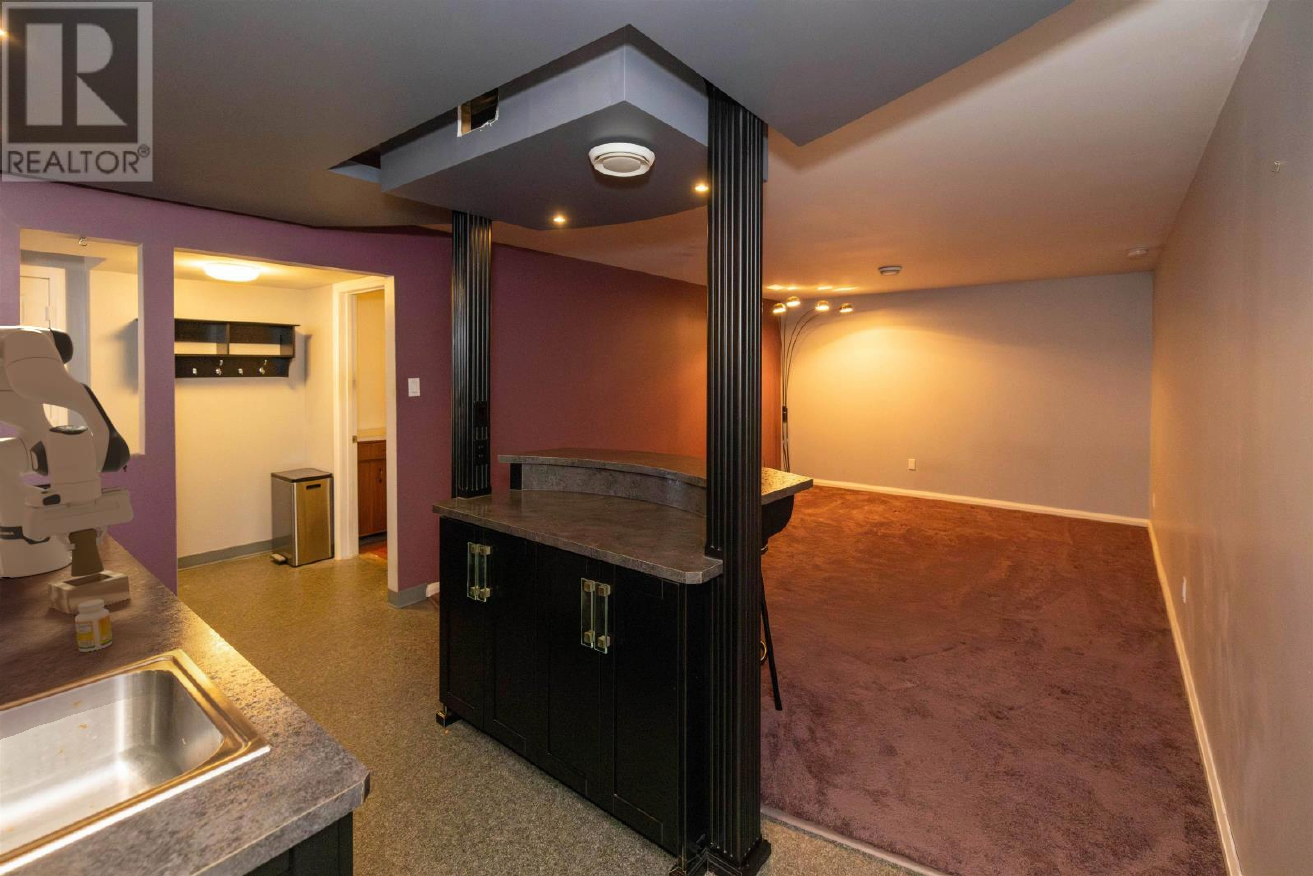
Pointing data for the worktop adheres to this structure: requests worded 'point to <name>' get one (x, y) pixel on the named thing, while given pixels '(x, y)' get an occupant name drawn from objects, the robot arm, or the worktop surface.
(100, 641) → the supplement bottle
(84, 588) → the shaker holder
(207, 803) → the worktop surface
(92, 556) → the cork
